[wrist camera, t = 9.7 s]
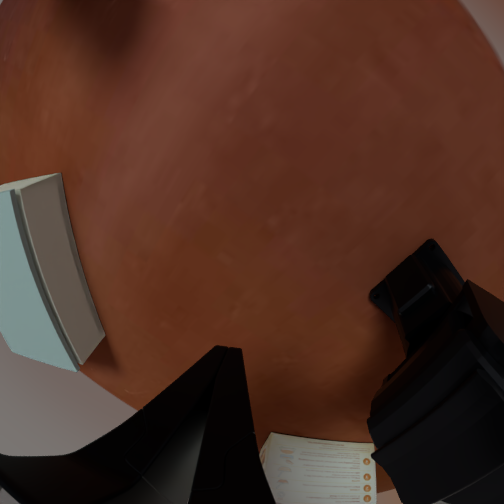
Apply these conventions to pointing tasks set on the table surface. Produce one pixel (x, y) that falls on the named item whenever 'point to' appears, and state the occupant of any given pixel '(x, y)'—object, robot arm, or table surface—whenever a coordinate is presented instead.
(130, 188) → the table surface
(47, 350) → the box lid
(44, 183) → the cream box
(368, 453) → the coffeecake box
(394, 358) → the table surface
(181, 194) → the table surface
